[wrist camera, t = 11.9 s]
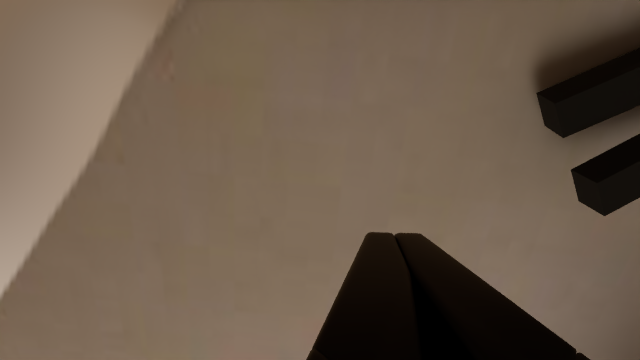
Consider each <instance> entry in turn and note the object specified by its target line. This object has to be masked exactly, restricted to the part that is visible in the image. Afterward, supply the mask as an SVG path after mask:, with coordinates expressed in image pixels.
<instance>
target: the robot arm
mask: <svg viewBox="0 0 640 360" xmlns="http://www.w3.org/2000/svg"><path fill="white" fill-rule="evenodd" d="M576 352H577V351H576V349H575V348H574V347H572V346H571V345H570V344H568V343H567V342H566V341H564V340H563V339H562V338H560V337H559V336H558V335H556V334H555V333H554V332H552V331H551V330H549V329H548V328H547V327H545V326H544V325H543V324H541V323H540V322H539V321H537V320H536V319H535V318H533V317H532V316H531V315H529V314H528V313H527V312H525V311H524V310H523V309H521V308H520V307H519V306H517V305H516V304H515V303H513V302H512V301H511V300H509V299H508V298H506V297H505V296H504V295H502V294H501V293H500V292H498V291H497V290H496V289H494V288H493V287H492V286H490V285H489V284H488V283H486V282H485V281H484V280H482V279H481V278H480V277H478V276H477V275H476V274H474V273H473V272H472V271H470V270H469V269H467V268H466V267H465V266H463V265H462V264H461V263H459V262H458V261H457V260H455V259H454V258H453V257H451V256H450V255H449V254H447V253H446V252H445V251H443V250H442V249H441V248H439V247H438V246H437V245H435V244H434V243H433V242H431V241H430V240H428V239H427V238H426V237H424V236H423V235H421V234H418V233H397V234H395V236H394V235H393V234H392V233H380V232H370V233H368V234H367V235H366V236H365V238H364V240H363V242H362V245H361V247H360V249H359V251H358V253H357V255H356V257H355V259H354V261H353V263H352V266H351V268H350V270H349V272H348V274H347V276H346V278H345V280H344V282H343V284H342V287H341V289H340V291H339V293H338V295H337V297H336V299H335V301H334V303H333V305H332V308H331V310H330V312H329V314H328V316H327V318H326V320H325V322H324V324H323V326H322V329H321V331H320V333H319V335H318V337H317V339H316V341H315V343H314V345H313V348H312V350H311V351H310V353H309V355H308V357H307V359H306V360H590V359H589V358H587V357H586V356H585V355H583V354H582V353H577V354H576Z"/></svg>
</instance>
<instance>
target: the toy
mask: <svg viewBox="0 0 640 360" xmlns="http://www.w3.org/2000/svg"><path fill="white" fill-rule="evenodd" d="M537 97H538V101H539V105H540V109H541V113H542V117H543V120H544V124H545V126H546V127H548V128H549V129H551V130H552V131H554V132H555V133H556V134H558V135H559V136H561V137H562V138H565V137H567V136H569V135H572V134H574V133H576V132H579V131H581V130H583V129H586V128H588V127H590V126H593V125H595V124H597V123H600V122H602V121H604V120H607V119H609V118H611V117H614V116H616V115H618V114H621V113H623V112H625V111H628V110H630V109H632V108H634V107H637V106H639V105H640V48H638V49H636V50H634V51H632V52H629V53H627V54H625V55H622V56H620V57H618V58H615V59H613V60H611V61H609V62H606V63H604V64H602V65H599V66H597V67H595V68H592V69H590V70H588V71H586V72H583V73H581V74H579V75H576V76H574V77H572V78H570V79H567V80H565V81H563V82H560V83H558V84H556V85H553V86H551V87H549V88H547V89H544V90H542V91H540V92H537ZM571 172H572V176H573V180H574V184H575V188H576V192H577V196H578V200H579V201H580V202H581V203H583V204H585V205H586V206H588V207H590V208H591V209H593V210H595V211H597V212H598V213H600V214H602V215H603V216H606V215H608V214H610V213H612V212H613V211H615V210H617V209H619V208H621V207H623V206H625V205H627V204H628V203H630V202H632V201H634V200H636V199H638V198H640V134H638V135H636V136H634V137H633V138H631V139H629V140H627V141H625V142H623V143H621V144H619V145H617V146H615V147H613V148H612V149H610V150H608V151H606V152H604V153H602V154H600V155H598V156H596V157H594V158H592V159H590V160H589V161H587V162H585V163H583V164H581V165H579V166H577V167H575V168H573V169H571Z"/></svg>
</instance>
